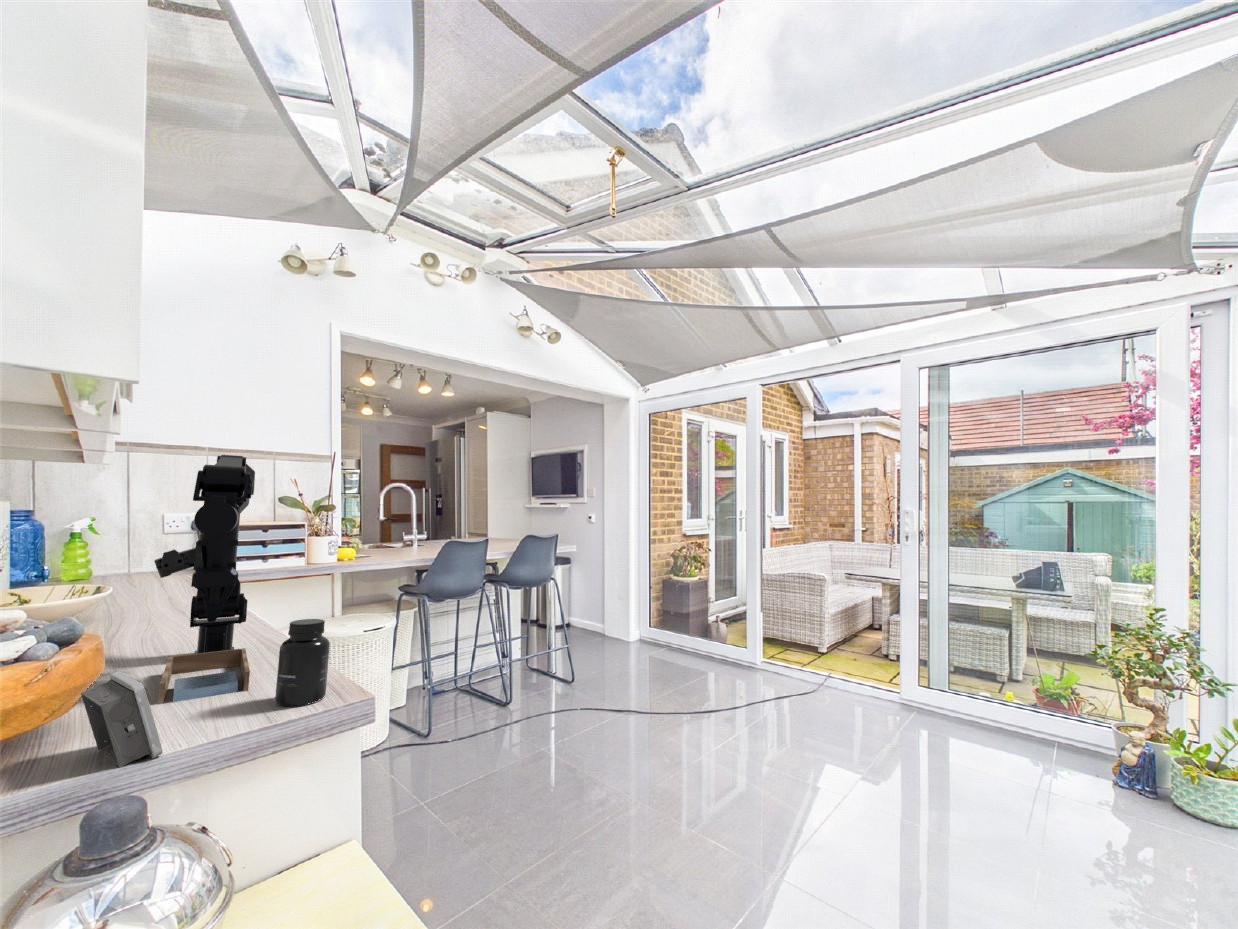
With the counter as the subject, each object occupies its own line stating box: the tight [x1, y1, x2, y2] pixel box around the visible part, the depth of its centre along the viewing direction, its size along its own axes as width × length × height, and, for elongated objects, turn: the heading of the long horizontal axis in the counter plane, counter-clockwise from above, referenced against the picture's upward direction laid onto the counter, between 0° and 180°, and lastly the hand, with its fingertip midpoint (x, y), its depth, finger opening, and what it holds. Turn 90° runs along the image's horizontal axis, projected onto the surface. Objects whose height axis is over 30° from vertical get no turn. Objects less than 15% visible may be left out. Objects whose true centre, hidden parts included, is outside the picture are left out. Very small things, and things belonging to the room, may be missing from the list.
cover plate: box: [172, 670, 239, 703], centre depth 86 cm, size 8×8×2 cm
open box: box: [157, 647, 251, 705], centre depth 91 cm, size 19×11×3 cm, turn 37°
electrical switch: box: [80, 670, 163, 768], centre depth 63 cm, size 9×5×9 cm, turn 57°
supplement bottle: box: [274, 618, 331, 708], centre depth 83 cm, size 7×7×12 cm
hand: (211, 621), depth 95 cm, fingers closed
